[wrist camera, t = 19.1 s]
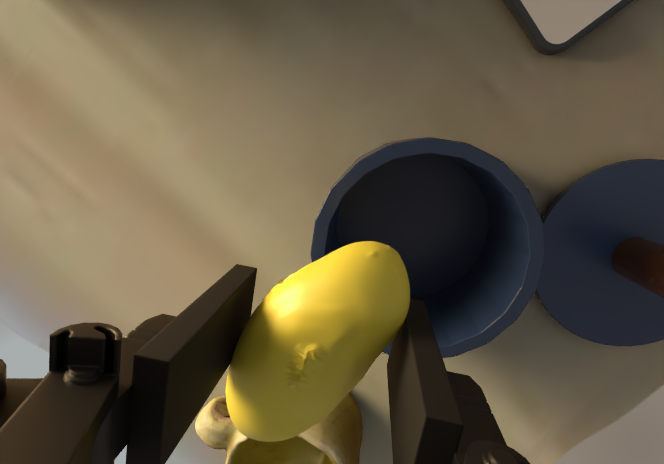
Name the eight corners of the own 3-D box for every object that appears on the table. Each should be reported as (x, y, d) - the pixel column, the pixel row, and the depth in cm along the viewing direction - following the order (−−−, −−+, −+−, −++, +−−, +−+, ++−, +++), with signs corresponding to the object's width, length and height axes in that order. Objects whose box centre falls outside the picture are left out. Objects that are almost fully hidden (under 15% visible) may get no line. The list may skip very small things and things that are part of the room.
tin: (340, 127, 30) (328, 122, 22) (515, 153, 29) (572, 158, 21) (317, 288, 33) (298, 338, 24) (475, 316, 32) (512, 377, 24)
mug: (411, 421, 32) (364, 541, 24) (337, 467, 38) (278, 578, 29) (302, 309, 34) (221, 385, 25) (246, 369, 39) (164, 448, 30)
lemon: (438, 284, 14) (462, 332, 11) (288, 421, 16) (262, 505, 12) (353, 201, 14) (346, 220, 10) (208, 349, 16) (156, 413, 12)
